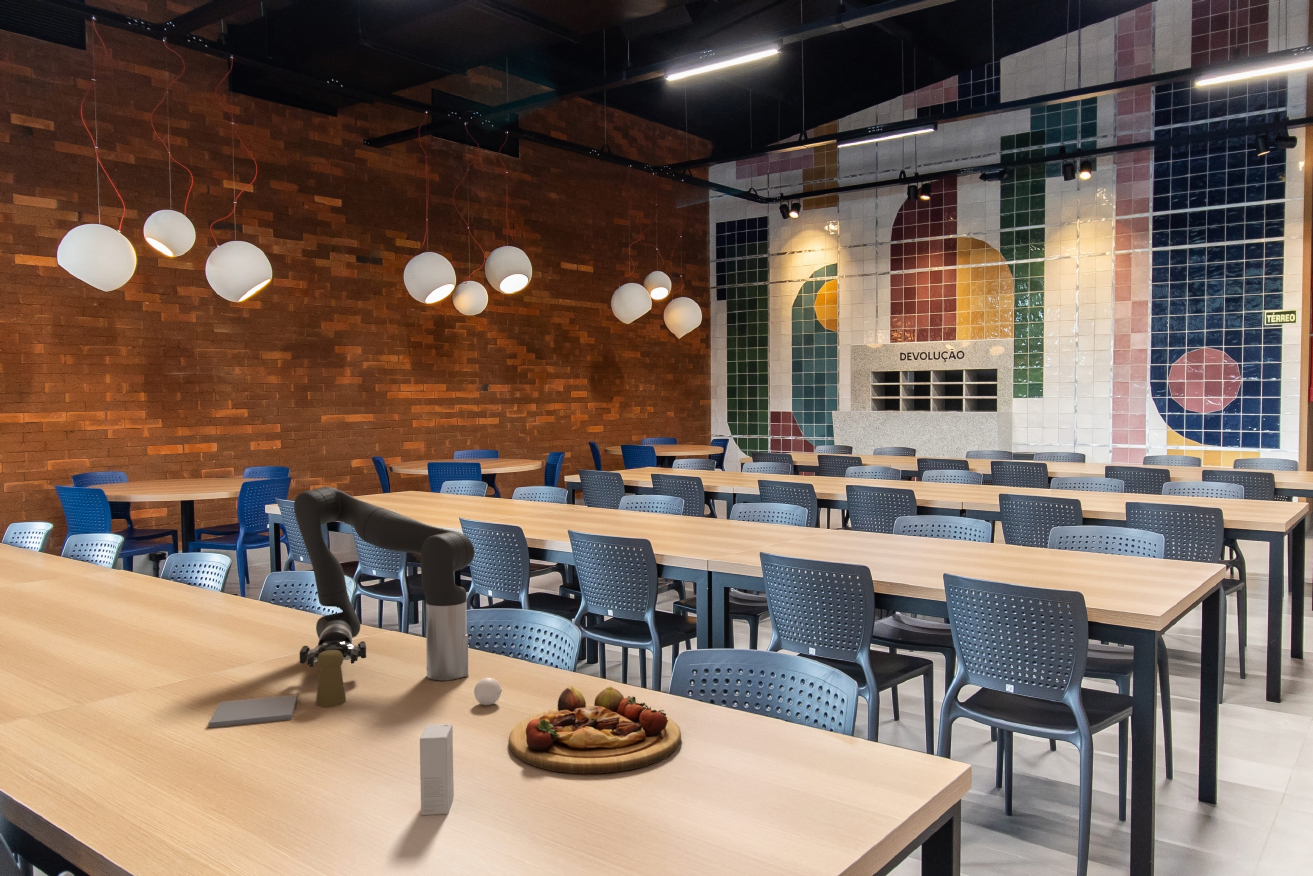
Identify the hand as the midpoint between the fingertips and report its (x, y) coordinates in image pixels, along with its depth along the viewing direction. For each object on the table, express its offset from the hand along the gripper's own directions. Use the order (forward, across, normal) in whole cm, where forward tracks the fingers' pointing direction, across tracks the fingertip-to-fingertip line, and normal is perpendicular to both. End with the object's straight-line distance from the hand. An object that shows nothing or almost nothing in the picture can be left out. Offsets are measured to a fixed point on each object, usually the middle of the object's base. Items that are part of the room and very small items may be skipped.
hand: (332, 660), depth 195 cm
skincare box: (+67, +18, +7) cm, 70 cm away
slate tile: (+11, -14, +6) cm, 19 cm away
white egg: (+20, +32, +7) cm, 38 cm away
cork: (+9, 0, +7) cm, 11 cm away
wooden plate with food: (+48, +48, +7) cm, 68 cm away
